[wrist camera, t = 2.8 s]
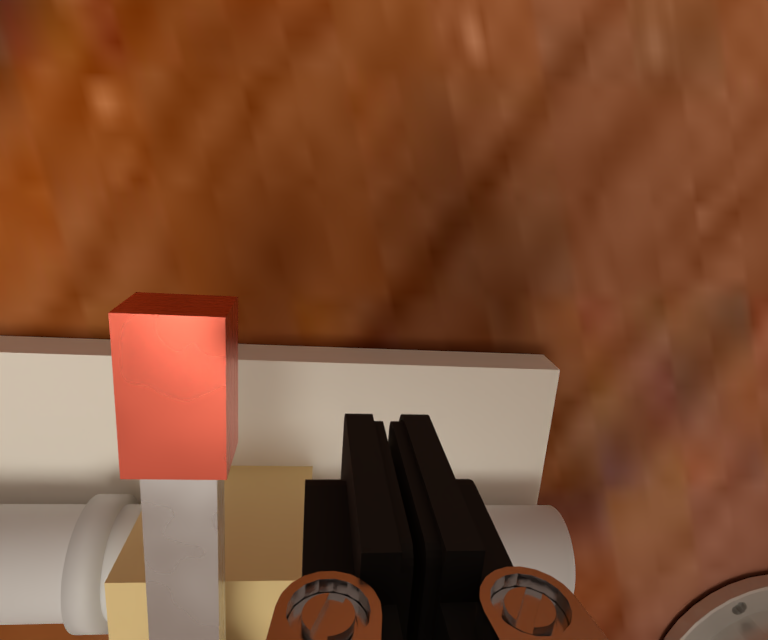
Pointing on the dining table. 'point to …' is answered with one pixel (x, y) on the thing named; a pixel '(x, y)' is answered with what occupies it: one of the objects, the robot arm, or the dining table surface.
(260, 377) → the valve base
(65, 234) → the dining table surface
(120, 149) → the dining table surface
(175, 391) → the valve lever
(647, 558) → the dining table surface
